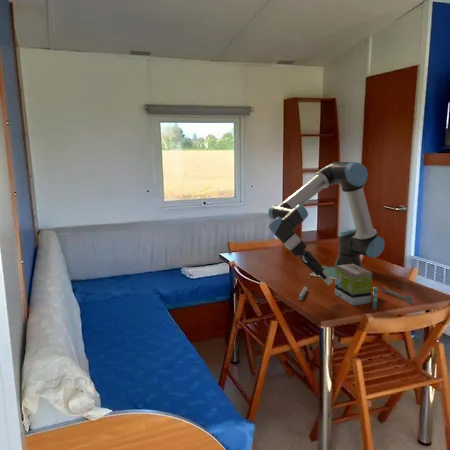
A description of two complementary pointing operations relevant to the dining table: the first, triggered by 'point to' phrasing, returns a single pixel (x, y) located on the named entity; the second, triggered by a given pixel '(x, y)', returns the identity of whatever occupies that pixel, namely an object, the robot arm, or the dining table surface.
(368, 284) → the tea box
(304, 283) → the dining table surface
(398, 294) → the combination wrench
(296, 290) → the dining table surface
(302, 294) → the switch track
